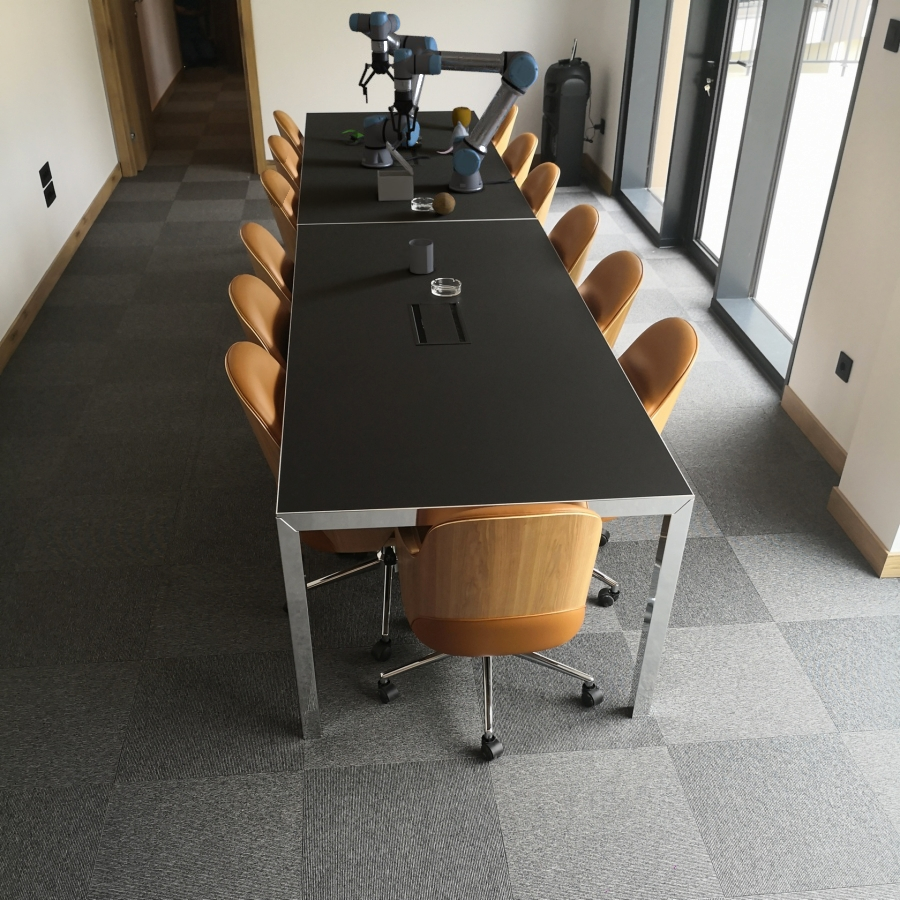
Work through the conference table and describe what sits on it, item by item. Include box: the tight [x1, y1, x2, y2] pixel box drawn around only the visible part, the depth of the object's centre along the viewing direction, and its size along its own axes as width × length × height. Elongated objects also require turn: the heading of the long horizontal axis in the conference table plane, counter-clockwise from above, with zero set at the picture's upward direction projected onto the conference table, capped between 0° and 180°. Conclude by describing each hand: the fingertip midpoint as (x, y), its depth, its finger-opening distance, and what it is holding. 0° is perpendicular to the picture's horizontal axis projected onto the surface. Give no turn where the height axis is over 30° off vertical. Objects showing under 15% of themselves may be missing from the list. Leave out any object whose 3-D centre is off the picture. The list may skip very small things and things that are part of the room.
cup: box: [408, 237, 434, 275], centre depth 305 cm, size 8×8×10 cm
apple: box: [451, 105, 472, 129], centre depth 487 cm, size 11×11×13 cm
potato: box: [431, 192, 456, 216], centre depth 360 cm, size 10×14×8 cm
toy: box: [437, 121, 470, 155], centre depth 440 cm, size 9×24×15 cm, turn 137°
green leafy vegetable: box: [340, 129, 364, 146], centre depth 465 cm, size 6×13×30 cm
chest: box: [376, 169, 414, 202], centre depth 380 cm, size 15×10×10 cm, turn 95°
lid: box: [386, 133, 415, 176], centre depth 373 cm, size 16×10×9 cm
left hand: (382, 102), depth 390 cm, fingers open, 13 cm apart
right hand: (404, 148), depth 372 cm, fingers closed on lid, 2 cm apart
